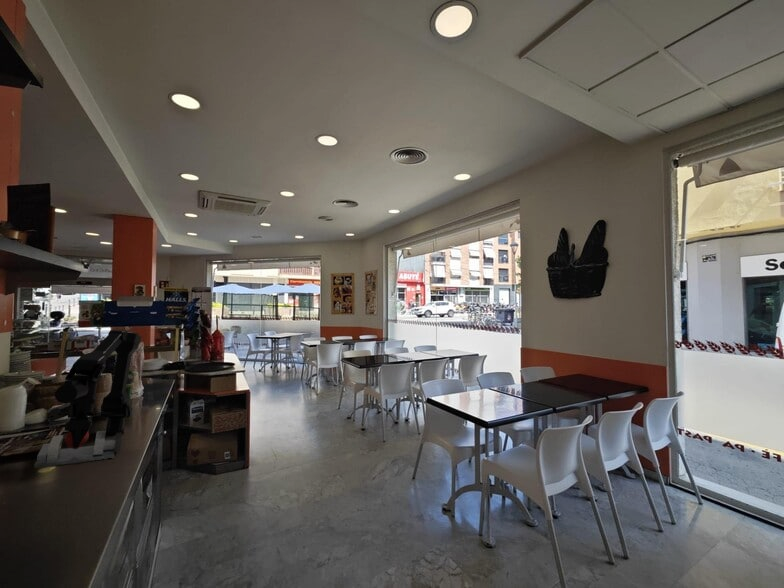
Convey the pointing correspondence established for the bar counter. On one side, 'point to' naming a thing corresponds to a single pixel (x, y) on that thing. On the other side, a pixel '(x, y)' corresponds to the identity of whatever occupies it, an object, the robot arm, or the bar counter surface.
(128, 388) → the coffee jar
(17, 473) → the bar counter surface
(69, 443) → the onion
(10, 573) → the bar counter surface
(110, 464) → the bar counter surface
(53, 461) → the vise base
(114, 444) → the sliding jaw
